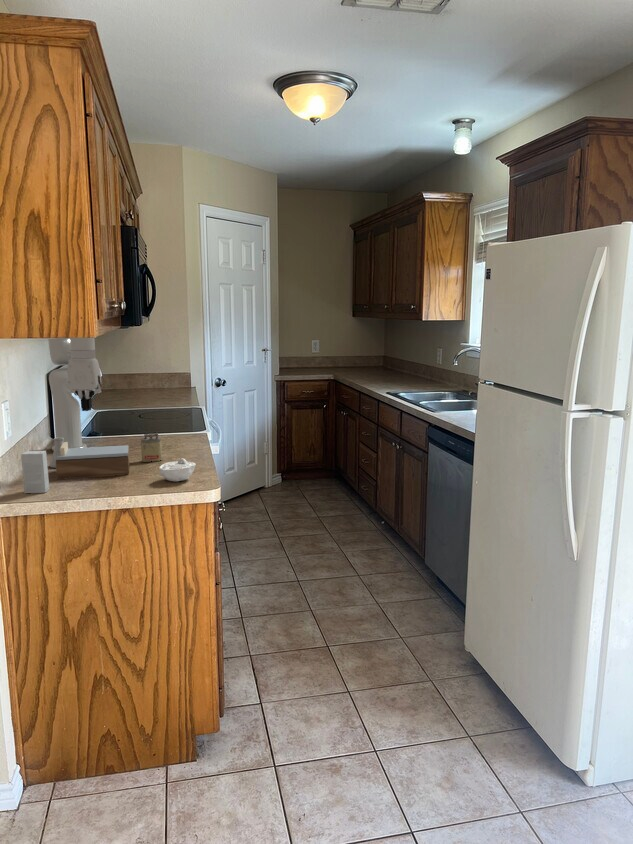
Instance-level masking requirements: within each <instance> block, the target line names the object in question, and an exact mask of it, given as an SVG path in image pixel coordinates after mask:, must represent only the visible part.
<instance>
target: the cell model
mask: <svg viewBox="0 0 633 844" xmlns="http://www.w3.org/2000/svg"><path fill="white" fill-rule="evenodd" d="M195 467H196V463H195V462H192V461H187V460H186V459H185V458H183V457H181V458H179V459H178V461H168V462H165V463H163V464H161V465H160V466H158V469H159V474H160V476H161V477H162V478H164V479H165V480H167V481H169V482H181V481H186V480H188V479H189V478H190V477H191V476H192V474H193V473H194V471H195Z"/></svg>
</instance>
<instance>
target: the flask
mask: <svg viewBox="0 0 633 844" xmlns="http://www.w3.org/2000/svg"><path fill="white" fill-rule="evenodd" d="M63 440H64V438H63V437H57V438H56V437H54V438H53V441H54V446H55V448H54V451H52V452H53V453H52V456H51V459H50V462H49V467H50V468H53V469H56V455H57V454H58V452H59V450H60V448H61V446H62V444H63Z"/></svg>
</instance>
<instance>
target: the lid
mask: <svg viewBox="0 0 633 844" xmlns="http://www.w3.org/2000/svg"><path fill="white" fill-rule="evenodd" d="M128 450H129V444H128V445H108V446H106V445H105V446H92V447H91V446H89V447H88V446H87V447H86V448H68V442H64V443H63V444H62V446H61V448H60V450H59V452H58V454H57V455H56V460H67V459H84V458H101V457H119V456H128Z"/></svg>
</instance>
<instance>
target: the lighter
mask: <svg viewBox="0 0 633 844" xmlns="http://www.w3.org/2000/svg"><path fill="white" fill-rule="evenodd" d="M140 441H141V442H140V446H141V447H140V449H141V462H143V463H144V462H145V463H146V462H147V463H151V461H152V462H159V461H160V460H161V461H162V460H163V454H162V451H163V450H162V438H161V437H159V433H158V432H156V433H144V437H143V438H142V439H140ZM161 461H160V462H161Z"/></svg>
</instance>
